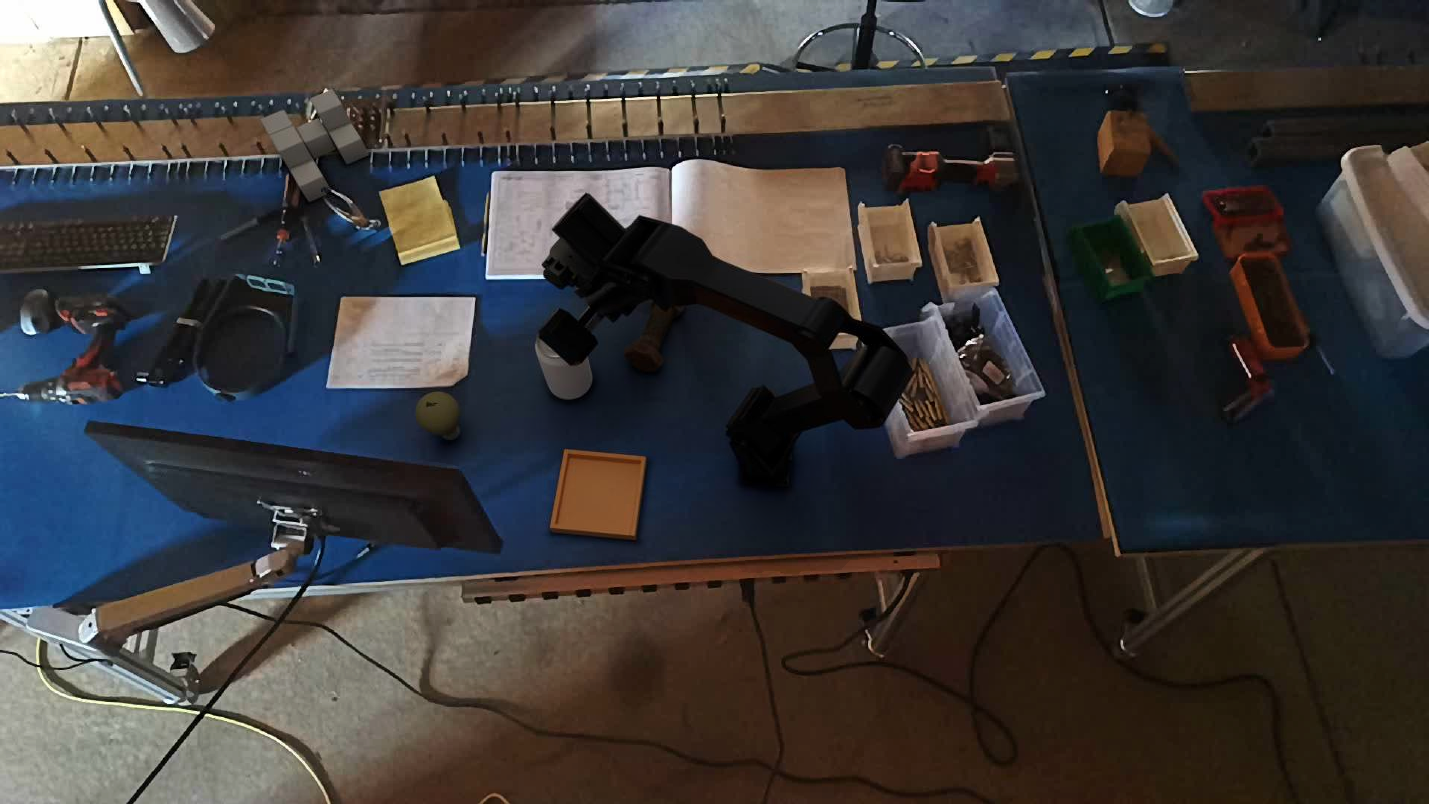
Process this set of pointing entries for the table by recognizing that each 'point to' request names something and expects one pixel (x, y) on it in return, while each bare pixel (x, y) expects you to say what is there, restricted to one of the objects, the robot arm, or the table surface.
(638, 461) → the tray
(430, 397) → the light bulb
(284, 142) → the gray h shaped block
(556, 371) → the can
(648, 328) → the bolt
